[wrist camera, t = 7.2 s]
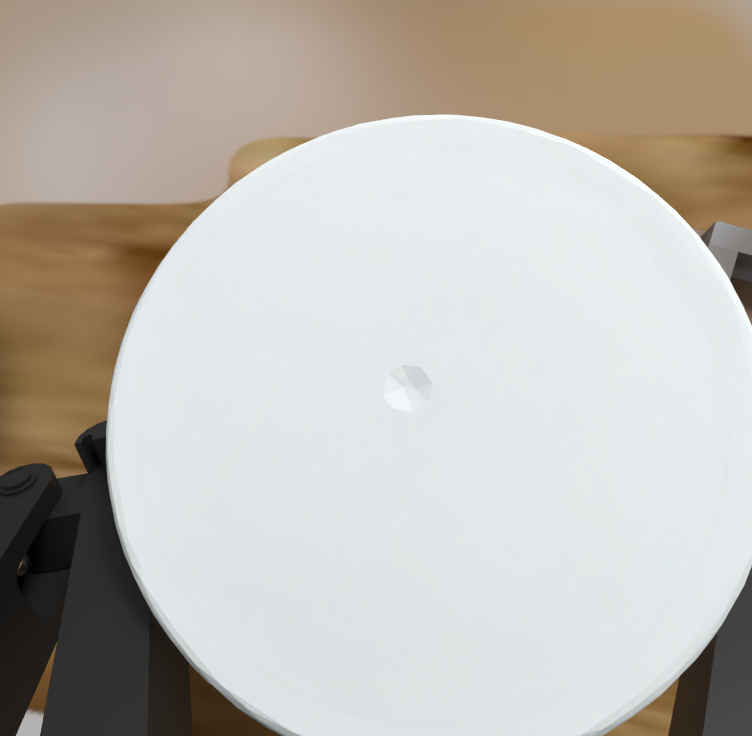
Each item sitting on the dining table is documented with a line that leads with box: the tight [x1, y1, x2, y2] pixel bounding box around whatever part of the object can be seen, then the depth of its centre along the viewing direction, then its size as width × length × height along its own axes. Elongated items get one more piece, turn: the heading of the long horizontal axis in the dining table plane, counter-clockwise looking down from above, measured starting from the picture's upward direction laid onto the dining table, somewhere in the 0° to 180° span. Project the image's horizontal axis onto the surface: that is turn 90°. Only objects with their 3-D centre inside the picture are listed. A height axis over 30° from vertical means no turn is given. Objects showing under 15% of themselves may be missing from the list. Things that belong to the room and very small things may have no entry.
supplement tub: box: [106, 115, 752, 736], centre depth 14 cm, size 10×10×15 cm
